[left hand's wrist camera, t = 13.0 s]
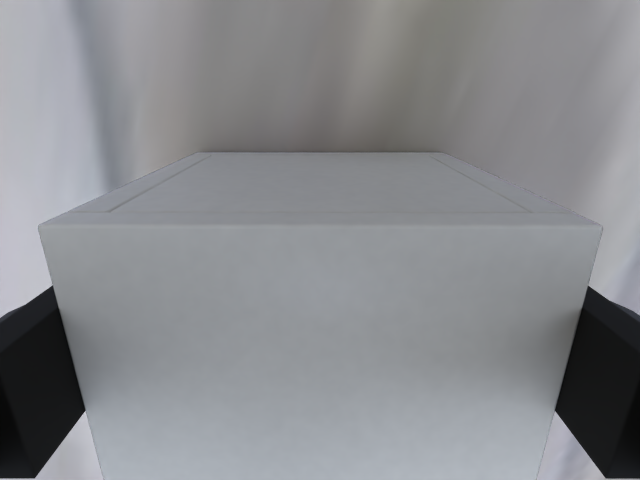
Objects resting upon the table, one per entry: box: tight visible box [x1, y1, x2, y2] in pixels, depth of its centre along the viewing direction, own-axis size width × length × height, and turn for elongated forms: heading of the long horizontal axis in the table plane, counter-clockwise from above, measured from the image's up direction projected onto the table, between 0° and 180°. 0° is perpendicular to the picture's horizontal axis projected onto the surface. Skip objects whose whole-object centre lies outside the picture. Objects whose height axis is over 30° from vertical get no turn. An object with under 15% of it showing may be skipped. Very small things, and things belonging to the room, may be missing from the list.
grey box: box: [38, 152, 603, 480], centre depth 15 cm, size 18×11×10 cm, turn 0°
